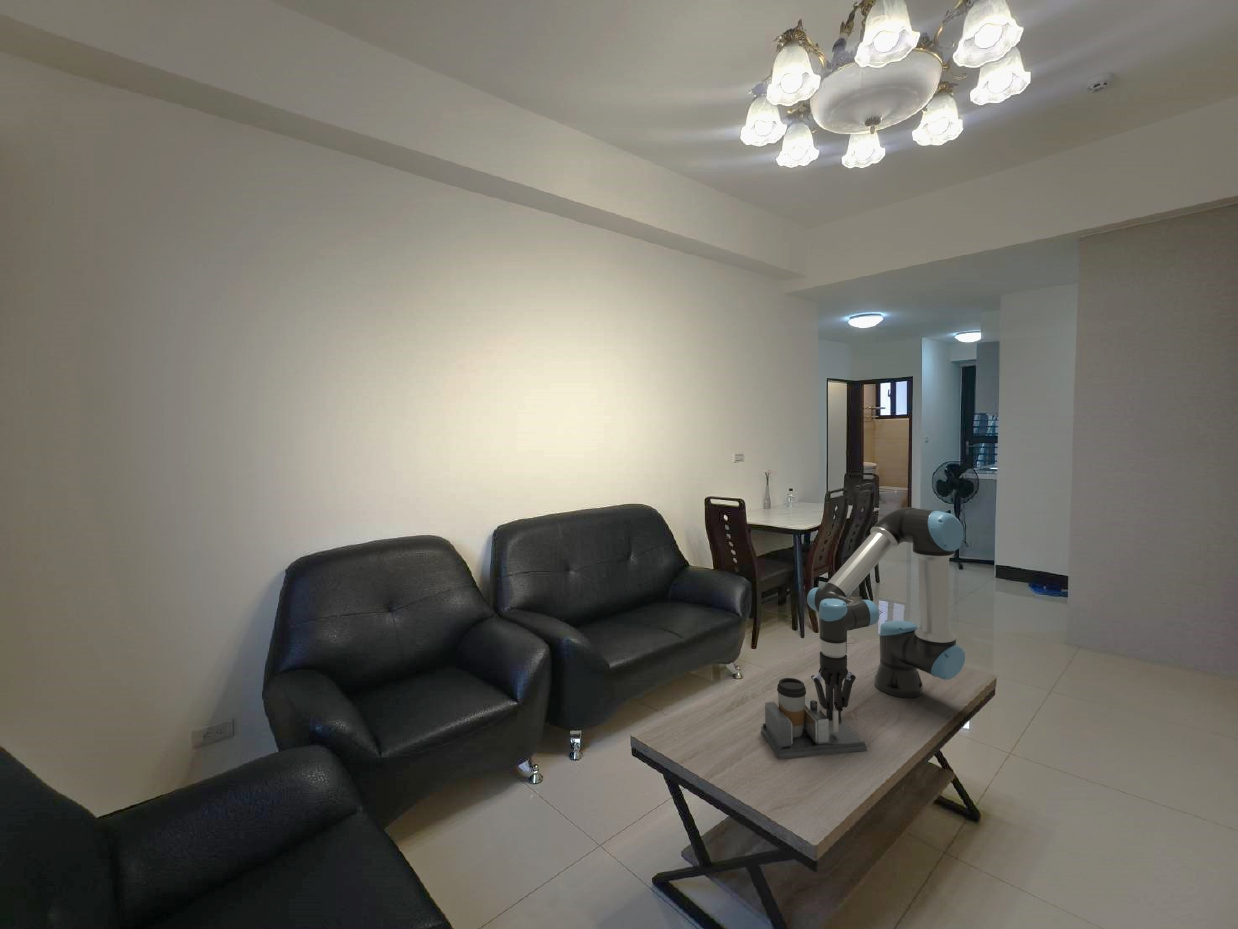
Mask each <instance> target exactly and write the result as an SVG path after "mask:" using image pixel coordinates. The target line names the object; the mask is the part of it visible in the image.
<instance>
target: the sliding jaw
mask: <svg viewBox="0 0 1238 929" xmlns="http://www.w3.org/2000/svg"><path fill="white" fill-rule="evenodd" d="M803 728H804V729H805V731H806V732H807V733H808V734H809V736H810V737H811V738H812V739H813V741H814V742H815V743H816V744H817V745H827V744H829V719H828V718H827V715H825V713H824V712H823V711H822V710H821V709H820V708H819V706H818V701H816V700H814V699H811V698H810V697H808V698H807V697H805V714H804V725H803Z"/></svg>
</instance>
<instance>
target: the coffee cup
mask: <svg viewBox="0 0 1238 929" xmlns="http://www.w3.org/2000/svg"><path fill="white" fill-rule="evenodd" d="M776 687H777V688H776V691H777V697H778V706H779V708H780V710H782V711H783V712H784V714H785V715H786V716H787V718H788V719H789V720H790V721H791V723H792V737H800V736H801V735H802V733H803V725H804V714H805V698H806V694H807V691H806V690H807V688H806V686H805V683H804V682H803V681H802V680H800V679H799V678H794V677H784V678H781V679H780V680H779V681H778V683H777V686H776Z"/></svg>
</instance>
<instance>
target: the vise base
mask: <svg viewBox="0 0 1238 929" xmlns="http://www.w3.org/2000/svg"><path fill="white" fill-rule="evenodd" d="M764 711H765V712H764V717H765V718H764V720H765V721H764V722H765V723H762V726H760V732H761V733H762V735H763V737H764V738H765V739H766V741H767V743H768V744H769V745H770V748H771V749H772V750H773V752H774V753H775V755H776V756H777V758H778V760H782V759H783V760H784V759H795V758H802V757H803V758H804V757H815V756H817V757H818V756H826V755H836V754H847V753H857V752H859V753H860V752H867V751H868V745H867V744H866V741H864V740H862V739H861V738H860V737H859V736H858V735H857V734H856V733H855V732H854V730H852V728H851V727H850V726H849V725H848V724H847V723H846V722H845V721H844V719H843V718H842V717H841V719H840V720H838V732H835V733H834V732H833V731H832V730H831V729H830V728H829V744H827V745H817V744H816V743H815V742H814V741H813V739H812V738H811V737H810V736H809V734H808V733H807V732H806V731H805V729H804V728H803V733H802V735H801V736H800V737H792V723H791V721H790V720H789V719H788V718H787V716H786V715H785V714H784V712H783V711H782V710H780V708H779V704H777V703H776V702H775V701H772V702H770V701H768V702H765V703H764Z"/></svg>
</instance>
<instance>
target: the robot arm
mask: <svg viewBox="0 0 1238 929" xmlns="http://www.w3.org/2000/svg"><path fill="white" fill-rule="evenodd" d="M962 525H963V524H962V523H961V521H960V520H959V519H958V518H957V517H956V516H955V515H954V514H952V513H949V512H945V511H942V510H933V509H924V508H916V507H911V506H909V507H908V506H907V507H900V508H897V509H895V510H893V511H891V512H889V513H888V514H886V515H884V516H883V517H882V518H880V519H879V520H878V521H876V523H875V524H874V525H873V526H872V527H871V529H870V532H869V533H870V534H869V535H868V536H867V538H866V539H865V540H864V541H863V542H862V543H861V545H860V546H858V547H857V549H856V550H855V551H853V553H852V555H851V556H849V558H848V559H847V560H846V561H845V562H844V564H842V566H841V567H840V568H839V569H838V570H837V571H836V572H835V573H834V574H833V575H832V577H831V578H830V579H829V580H828V581H827V582H826V584H824V586H823V587H813V588H812V589H810V590H809V592H808V593H807V596H806V597H807V598H806V602H807V605H808V606H809V608H810V609H811V610H813V611H815V612H817V613H818V619H819V620H818V622H819V628H818V629H819V630H818V631H819V670H818V673H817V674H816V675H814V674H812V675H811V676H810V679H811V680H812V681H813V683H814V686H815V690H816V695H817V698H818V703H819V705H820V706H821V707H822V709H823V710H826V712H825V713H826V715H825V716H826V717H827V718H828V719H829V728H830V729H831V730H832V731H833V732H834V733H835V732H838V720H840V719H841V718H842V712H843V711H844V709H843V708H847V707H848V705H849V701H850V697H851V692H852V689H853V684H854V682H855V680H856V679H857V676H856V675H854V674H853V673H852V672H851V671H849V670H848V668H847V667H848V655H847V654H848V631H849V632H850V631H852V630H858V629H862V628H868V627H870V626H873V625H875V624H877V623H878V622H879V620H880V610H879V608H878V606H877V604H876V603H875V602H874V601H872V600H869V599H860V600H855V599H853V598H849V597H850V595H852V593H853V592H854V591H855V590H856V588H858V587H859V585H860V584H861V583H862V582H863V581H864V580H865V578H867V576H868V575H869V574H870V573H871V572H872V571H873V569H874V568H875V567H876V566H877V565H878V563H880V562H881V560H883V558H884V557H885V556H886V555H887V553H888V552H889V551H890V550H892V549H896V548H897V547H898V546H899V545H900V544H902V543H910V544H912V553H914V554H915V555H916V556H917V562H918V565H917V568H918V571H917V572H918V598H919V599H918V607H919V608H918V609H919V610H918V613H919V627H918V625H917V624H916V623H914V622H912V621H907V620H890V621H885V622H883V623H881V625H880V630H879V665H878V668H877V670H876V672H875V675H874V686H875V687H876V688H877V689H878V690H879V691H881V692H883V693H884V694H887V695H890V696H895V697H898V698H917V697H920V696H921V695H922V694H923V693H924V685H923V681H922V679H921V675H920V672H919V670H920V671H922V672H924V673H926V674H929V675H931V676H933V678H934V677H936V678H938V679H942V680H944V681H946V680H947V681H949V680H952V679H954V678H956V677H957V676H958V675H959V674H960V672H961V671H962V669H963V668H964V665H965V662H966V653H965V650H964V649H963V648H962V647H961V646H960V645H957V636H956V634H955V633H953V631H951V613H950V612H951V599H950V597H951V596H950V595H951V594H950V592H951V591H950V558H951V557H953V556H954V555H955V551H957V550H958V549H960V547H961V546H962V542H963V540H964V530H963V526H962ZM822 679H823V681H824V686H825V690H824V689H823V685H822ZM824 691H825V692H824Z"/></svg>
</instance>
